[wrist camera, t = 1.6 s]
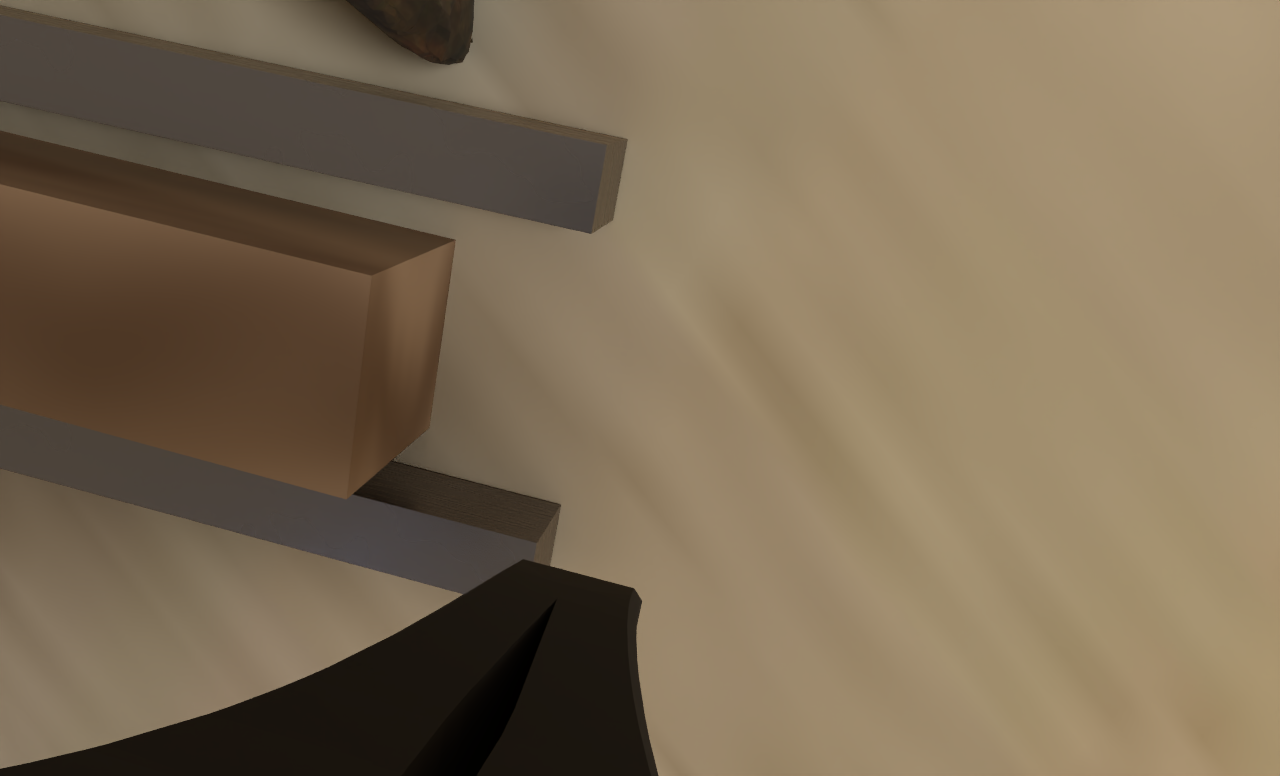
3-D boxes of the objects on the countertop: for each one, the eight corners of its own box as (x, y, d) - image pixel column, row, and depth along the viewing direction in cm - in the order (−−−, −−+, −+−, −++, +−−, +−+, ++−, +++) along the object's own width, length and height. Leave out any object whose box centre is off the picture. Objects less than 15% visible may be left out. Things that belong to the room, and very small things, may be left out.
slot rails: (549, 567, 21) (524, 611, 19) (-412, 312, 24) (-508, 330, 22) (627, 139, 18) (606, 145, 16) (-478, -97, 21) (-594, -113, 19)
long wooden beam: (433, 423, 21) (346, 499, 17) (-73, 291, 22) (-257, 334, 18) (459, 238, 19) (371, 276, 16) (-80, 109, 21) (-280, 115, 17)
